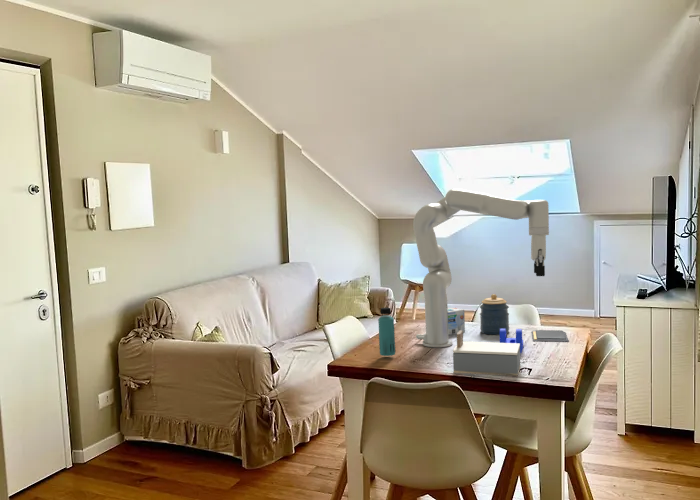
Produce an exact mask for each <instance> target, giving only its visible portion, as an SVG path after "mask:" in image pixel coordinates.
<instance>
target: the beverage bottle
mask: <svg viewBox="0 0 700 500" xmlns="http://www.w3.org/2000/svg"><path fill="white" fill-rule="evenodd" d="M379 313H380V315H381V314H382V315H381V316H380V317H379V318H378V319H377V321H378V342H379V343H378V344H379V345H378V348H379V355H380V356H383V357H390V356H395V355H396V337H395V335H396V334H395V318H394V317H393V316H392V315H389V314H391V313H392V311H391V307H381V308H380V312H379Z"/></svg>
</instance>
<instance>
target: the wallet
mask: <svg viewBox="0 0 700 500" xmlns="http://www.w3.org/2000/svg"><path fill="white" fill-rule="evenodd" d="M530 333H531V339H532V342H537V343H539V342H540V343H569V342H570V340H569V338H568V335H567V333H566V331H564V330H560V329H559V330H557V329H556V330H555V329H551V330H549V329H537V330H535V331H534V330H533V331H531V332H530Z"/></svg>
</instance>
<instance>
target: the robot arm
mask: <svg viewBox="0 0 700 500" xmlns="http://www.w3.org/2000/svg"><path fill="white" fill-rule="evenodd" d="M549 207H550V206H549V202H548V200H546V199H534V200H522V199H521V200H520V199H518V200H517V199H509V198H506V197H505V198H504V197H503V198H502V197H498V196H494V195H491V194H489V193H486V192H480V191H479V192H478V191H472V190H467V189H463V188H452V189H449V190H448V191H447V192H446V194H445V196H444V197H443V198H442V199H440V200H439V201H437V202H435V203H427V204H425V205H424V206H422V207H420V209H418V210H417V211H416V214H415V215H414V217H413V222H412V225H413V226H412V227H413V233H414V237H415V243H416V247H417V252H418V257H419V261H420V264H421V265H422V266H423V267H424V268H427V269H428V273H427V274H425V276H424V278H423V280H422V288H423V289H422V290H423V296H424V297H423V298H424V314H425V315H424V316H425V317H424V318H425V319H424V320H425V333H423V334H421V333H420V334H419V333H416V334H415V335H416V336H415V337H416V339H417V340H423V341H422V345H423V346H424V347H427V348H445V347H450V346H452V345H453V341H452V340H451V339H449V338H450V337H449V335H448V309H449V308H448V297H447V295H448V294H447V289H448V288H449V287H450V285H451V284H452V273H451V269H450V264H449V259H448V255H447V251H446V249H444V247H442V246H441V245H440V244H438V241H437V237H436V232H435V229H434V225H435V224H440V223H442V222H444V221H446V220H447V219H449V218H450V217H452V216H453V215H455V214H457V213H459V212H460V211H462V212H463V211H464V212H470V213H475V214H480V215H485V216H492V217H498V218H503V219H504V218H505V219H509V220H515V221H516V220H522V219H527V218H528V236H530V237H531V239H530V241H531V242H530V243H531V245H530V249H531V250H530V255H531V256H530V259H531V260H532V261H533V262H534V263H533V273H534V274H535V276H536V277H545V275H546V271H545V269H546V266H545V260H546V255H547V254H546V253H547V237H546V236H549V235H550V234H549V233H550V228H549V227H550V226H549V225H550V224H549V223H550V222H549V219H550V217H549V215H550V214H549V209H550V208H549Z"/></svg>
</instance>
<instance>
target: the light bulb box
mask: <svg viewBox="0 0 700 500" xmlns="http://www.w3.org/2000/svg"><path fill="white" fill-rule="evenodd" d="M465 320H466V319H465V309H463V308H458V307H453V308H452V307H451V308H448V336H449V335H457V333H458V332H459V331H463V332H464V333H465V331H466V327H465V326H466V325H465V324H466V323H465V322H466V321H465Z"/></svg>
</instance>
